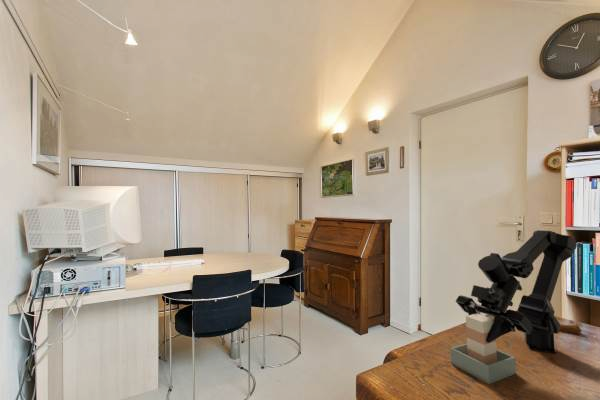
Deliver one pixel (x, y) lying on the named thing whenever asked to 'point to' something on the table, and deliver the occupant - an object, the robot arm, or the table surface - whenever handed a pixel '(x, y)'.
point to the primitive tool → (570, 329)
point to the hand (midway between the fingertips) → (477, 337)
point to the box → (483, 365)
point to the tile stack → (480, 339)
